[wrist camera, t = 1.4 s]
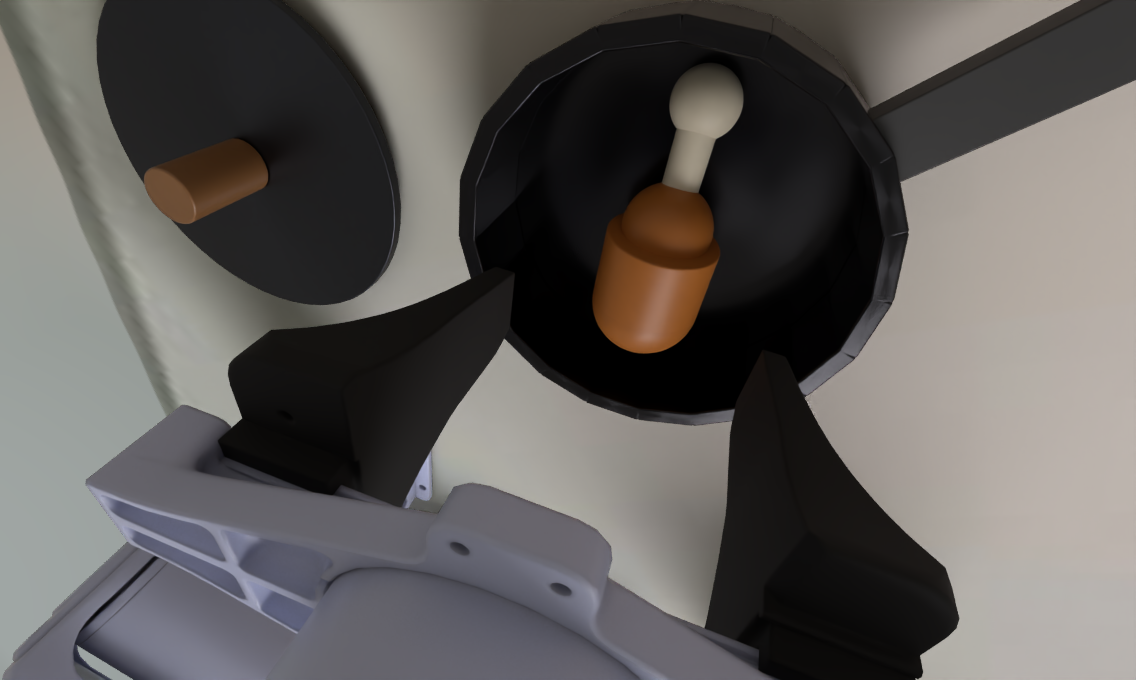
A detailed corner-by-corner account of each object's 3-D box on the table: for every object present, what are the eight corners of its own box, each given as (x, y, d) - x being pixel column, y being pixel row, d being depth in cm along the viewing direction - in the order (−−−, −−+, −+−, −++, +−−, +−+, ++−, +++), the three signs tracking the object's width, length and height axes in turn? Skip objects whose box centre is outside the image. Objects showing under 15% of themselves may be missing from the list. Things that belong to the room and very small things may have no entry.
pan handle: (880, 175, 14) (885, 188, 14) (855, 115, 14) (859, 126, 13) (1440, -75, 9) (1499, -77, 9) (1440, -188, 9) (1503, -199, 8)
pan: (782, 398, 23) (782, 470, 20) (496, 305, 25) (455, 358, 21) (981, 58, 14) (1036, 91, 11) (523, -41, 16) (463, -36, 13)
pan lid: (414, 328, 27) (356, 390, 23) (182, 249, 29) (94, 295, 25) (400, 5, 18) (300, 22, 14) (64, -75, 20) (-98, -78, 16)
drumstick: (688, 328, 21) (672, 388, 19) (600, 300, 22) (571, 353, 19) (786, 73, 15) (783, 103, 13) (659, 43, 16) (629, 65, 13)
